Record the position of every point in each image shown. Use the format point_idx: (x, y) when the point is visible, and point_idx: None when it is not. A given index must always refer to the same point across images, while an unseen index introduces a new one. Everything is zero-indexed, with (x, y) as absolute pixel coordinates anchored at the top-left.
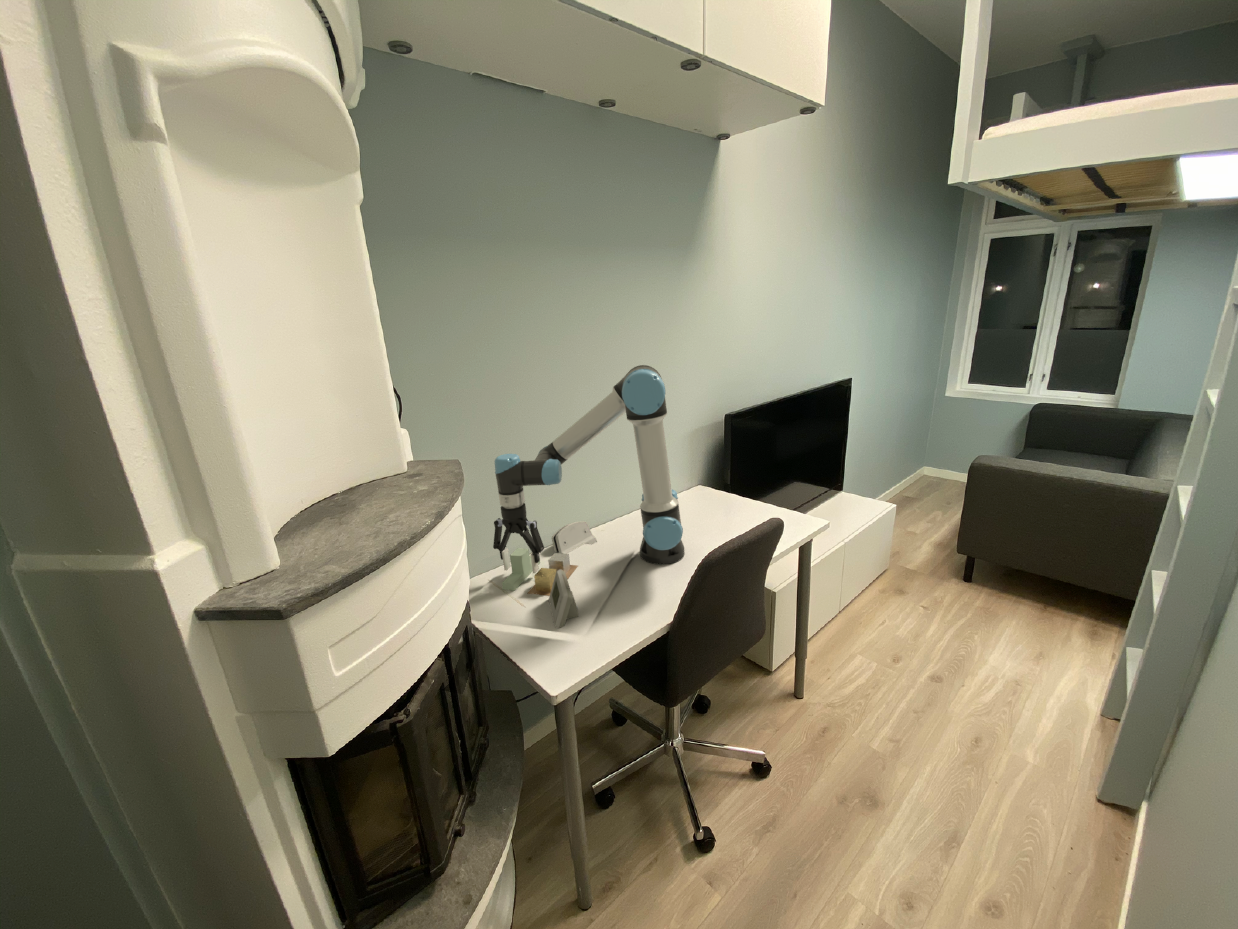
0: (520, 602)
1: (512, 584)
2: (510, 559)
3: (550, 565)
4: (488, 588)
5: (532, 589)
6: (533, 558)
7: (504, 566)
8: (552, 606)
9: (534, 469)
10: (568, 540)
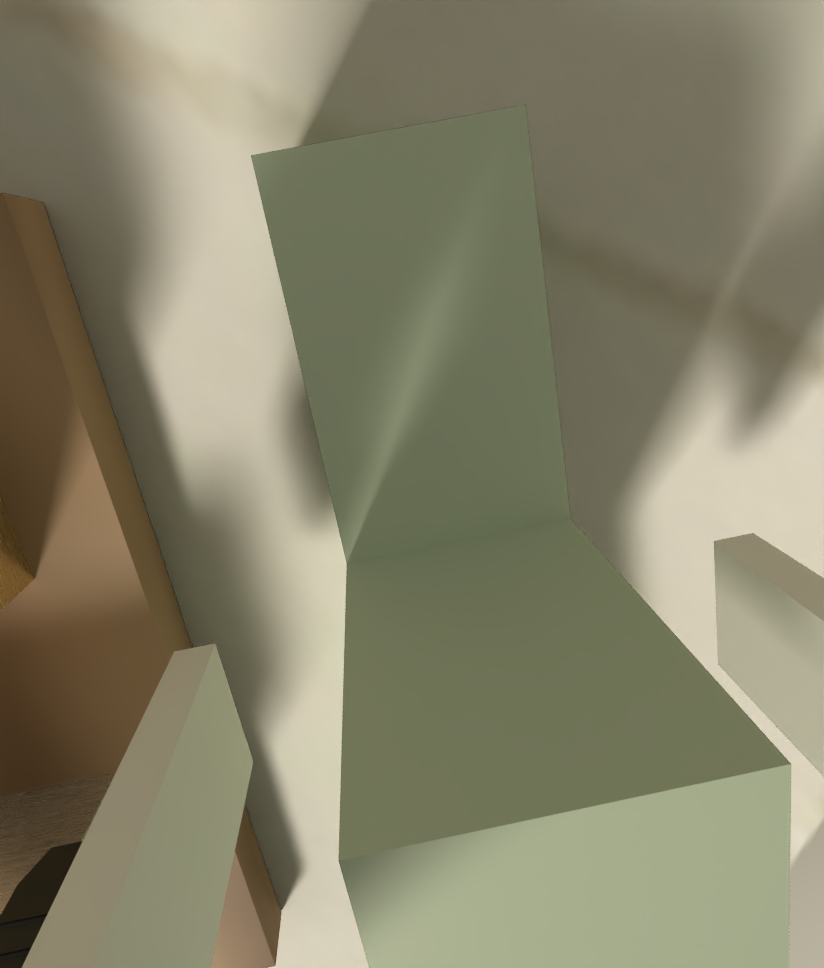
0: (43, 31)
1: (281, 155)
2: (701, 667)
3: None
4: (787, 200)
5: (14, 336)
6: (54, 933)
7: (790, 566)
8: None
9: None
10: None
